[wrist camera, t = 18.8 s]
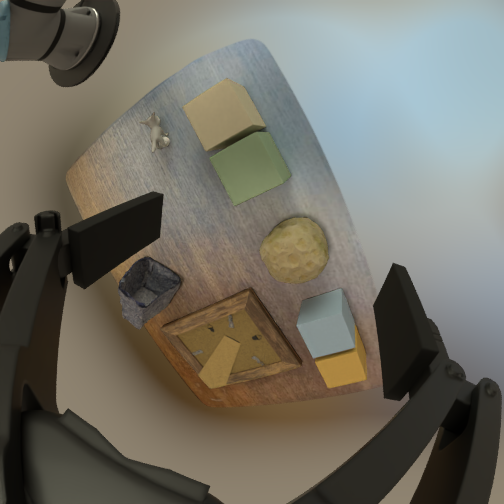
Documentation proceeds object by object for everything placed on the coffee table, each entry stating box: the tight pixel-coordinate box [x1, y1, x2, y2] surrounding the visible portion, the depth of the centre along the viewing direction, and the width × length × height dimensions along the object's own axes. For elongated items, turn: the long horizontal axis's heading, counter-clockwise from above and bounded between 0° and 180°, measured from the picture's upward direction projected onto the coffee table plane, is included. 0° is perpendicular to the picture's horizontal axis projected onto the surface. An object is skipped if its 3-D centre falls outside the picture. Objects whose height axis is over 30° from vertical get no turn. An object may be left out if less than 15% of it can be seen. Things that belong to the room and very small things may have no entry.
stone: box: [118, 257, 181, 329], centre depth 49 cm, size 12×10×10 cm
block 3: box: [296, 288, 355, 358], centre depth 43 cm, size 7×7×7 cm
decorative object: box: [259, 217, 329, 284], centre depth 40 cm, size 9×10×10 cm
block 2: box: [209, 132, 291, 206], centre depth 36 cm, size 7×7×7 cm
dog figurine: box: [139, 113, 170, 153], centre depth 39 cm, size 3×8×6 cm
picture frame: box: [160, 288, 302, 389], centre depth 54 cm, size 19×2×24 cm
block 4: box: [315, 325, 367, 388], centre depth 44 cm, size 7×7×7 cm
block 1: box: [182, 78, 266, 151], centre depth 35 cm, size 7×7×7 cm
